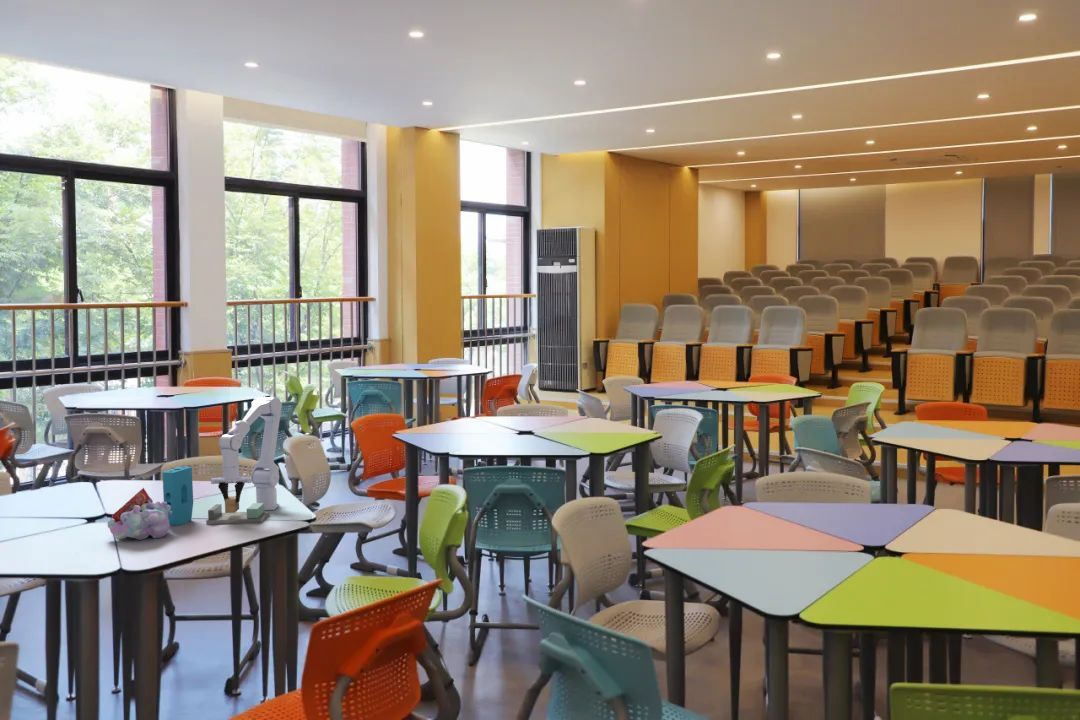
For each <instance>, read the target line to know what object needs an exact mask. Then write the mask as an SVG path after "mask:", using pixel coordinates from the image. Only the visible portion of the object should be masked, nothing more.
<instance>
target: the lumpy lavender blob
mask: <svg viewBox="0 0 1080 720" xmlns="http://www.w3.org/2000/svg"><path fill="white" fill-rule="evenodd" d="M153 502H154V500H153V499H152V497H150V495H149V494H148V492H147V491H146V489H145V488H144V487H142V488H141V489H140V490H139V491H138V492H136V493H135V495H133V496H132V497H131V498H130V499H129V500H128V501H127V502H126V503H125V504H123V505H122V506H121V507H120V508H119V509H118V510H116V511H115V512H114V513H113V514H112V515H111V518H110V519H108V520H109V521H107V528H108V529H109V531H110V533H111V534H112V535H113V537H114V538H115V539H116V540H124V539H126V538H127V537H128V538H131V539H136V540H138V541H142V540H145V539H146V538H149V536H151V537H152V538H153V539H160V538H163V537H165V535H167V534H168V532H169V530H170V529H171V528H170V527H171V525H170V524H169V519H168V515H171V514H172V511H170V509H171V506H170V505H167V502H164V501H162V502H160V501H156V502H155V503H153Z"/></svg>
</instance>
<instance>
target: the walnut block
mask: <svg viewBox="0 0 1080 720" xmlns="http://www.w3.org/2000/svg"><path fill="white" fill-rule="evenodd" d="M239 510H240V501H239V502H238V503H236V495H228V498H226V499H225V501H224V513H235V512H237V511H239Z"/></svg>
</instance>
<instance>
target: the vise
mask: <svg viewBox="0 0 1080 720" xmlns="http://www.w3.org/2000/svg"><path fill="white" fill-rule="evenodd" d="M222 509H223V508H222V504H219V503H218V504H214V505H213V506H212V507H211V508H209V509H208V510H207V517H208V518H207V519H206V521H205V524H206V525H223V524H224V525H225V524H226V525H231V524H260V523H263V522H264V521H265V520H266V519H268V517H269V516H270V510H264V513H263V514H262V515H260V516H259V517H258V518H247V511H238V512H237V511H236V512H235V513H225V512H223V510H222Z"/></svg>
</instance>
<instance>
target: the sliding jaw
mask: <svg viewBox="0 0 1080 720" xmlns="http://www.w3.org/2000/svg"><path fill="white" fill-rule="evenodd" d="M264 511H265V510H264V503H257V502H255V503H252V504H251V505H249V506H248V507H247V508H246V512H247V518H258V517H259V516H260V515H262V514H263V513H264Z"/></svg>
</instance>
